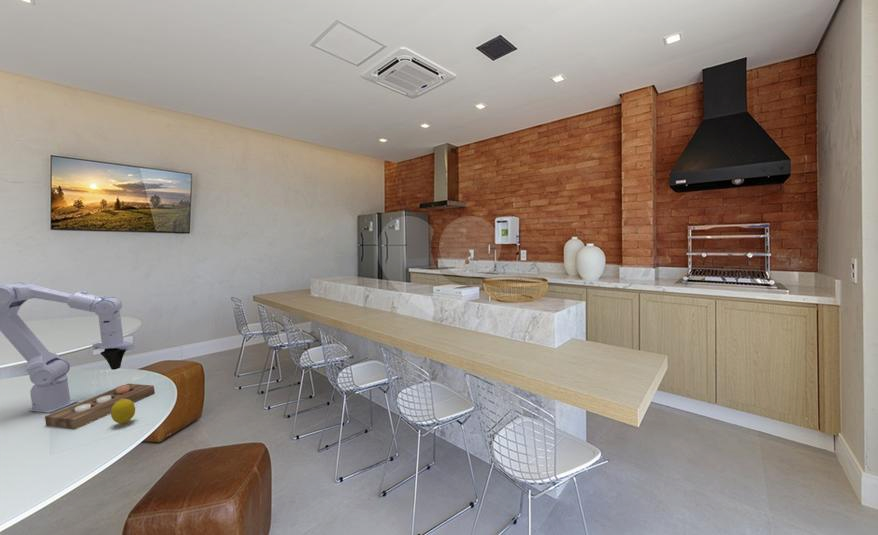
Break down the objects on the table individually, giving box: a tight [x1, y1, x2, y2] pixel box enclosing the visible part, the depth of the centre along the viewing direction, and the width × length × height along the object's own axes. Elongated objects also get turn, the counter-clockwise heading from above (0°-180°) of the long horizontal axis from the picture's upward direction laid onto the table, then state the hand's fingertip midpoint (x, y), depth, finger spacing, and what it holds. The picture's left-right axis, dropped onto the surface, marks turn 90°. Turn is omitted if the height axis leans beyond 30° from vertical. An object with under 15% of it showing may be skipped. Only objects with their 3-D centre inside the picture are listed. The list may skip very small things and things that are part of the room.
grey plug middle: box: [96, 395, 111, 403], centre depth 119 cm, size 4×4×3 cm
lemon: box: [110, 399, 136, 425], centre depth 108 cm, size 6×6×8 cm
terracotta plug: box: [115, 384, 130, 395], centre depth 125 cm, size 4×4×3 cm
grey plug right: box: [75, 404, 91, 412], centre depth 113 cm, size 4×4×3 cm
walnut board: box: [44, 383, 156, 430], centre depth 119 cm, size 12×24×3 cm, turn 168°
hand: (116, 368), depth 127 cm, fingers closed
